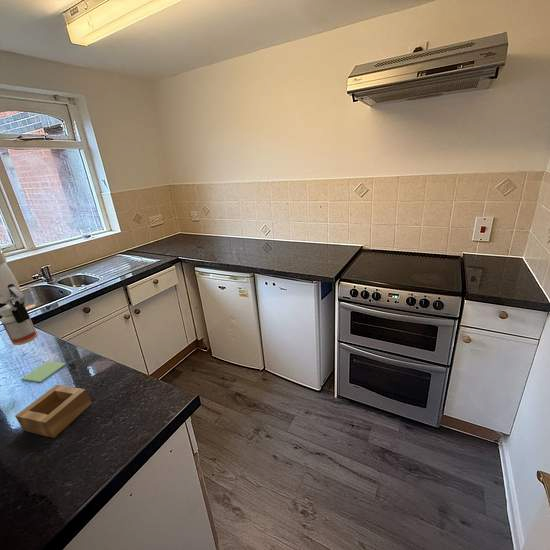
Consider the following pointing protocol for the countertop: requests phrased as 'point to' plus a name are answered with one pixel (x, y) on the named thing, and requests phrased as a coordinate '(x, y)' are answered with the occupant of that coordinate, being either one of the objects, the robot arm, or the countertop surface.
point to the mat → (44, 371)
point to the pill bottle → (17, 327)
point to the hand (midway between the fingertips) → (15, 319)
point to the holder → (54, 410)
